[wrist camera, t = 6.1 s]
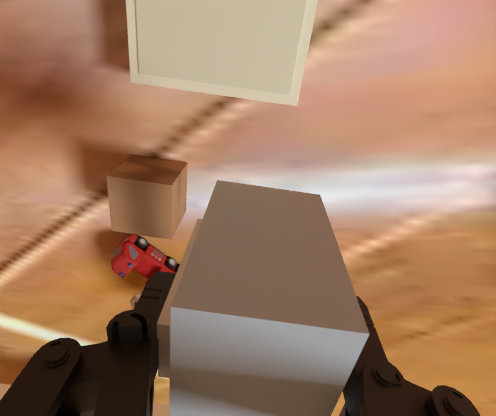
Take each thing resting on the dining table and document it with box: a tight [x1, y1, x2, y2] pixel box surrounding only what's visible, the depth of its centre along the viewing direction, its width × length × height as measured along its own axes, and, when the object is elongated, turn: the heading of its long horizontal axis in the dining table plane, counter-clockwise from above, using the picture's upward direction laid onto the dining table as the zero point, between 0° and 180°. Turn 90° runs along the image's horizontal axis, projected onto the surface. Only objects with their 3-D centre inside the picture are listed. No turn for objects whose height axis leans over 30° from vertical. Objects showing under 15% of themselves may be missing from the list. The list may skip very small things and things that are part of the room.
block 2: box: [169, 180, 369, 416], centre depth 13 cm, size 5×7×8 cm
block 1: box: [106, 155, 187, 239], centre depth 31 cm, size 6×6×6 cm
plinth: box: [126, 0, 318, 106], centre depth 24 cm, size 14×10×4 cm
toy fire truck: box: [111, 234, 180, 309], centre depth 36 cm, size 3×14×10 cm, turn 47°
